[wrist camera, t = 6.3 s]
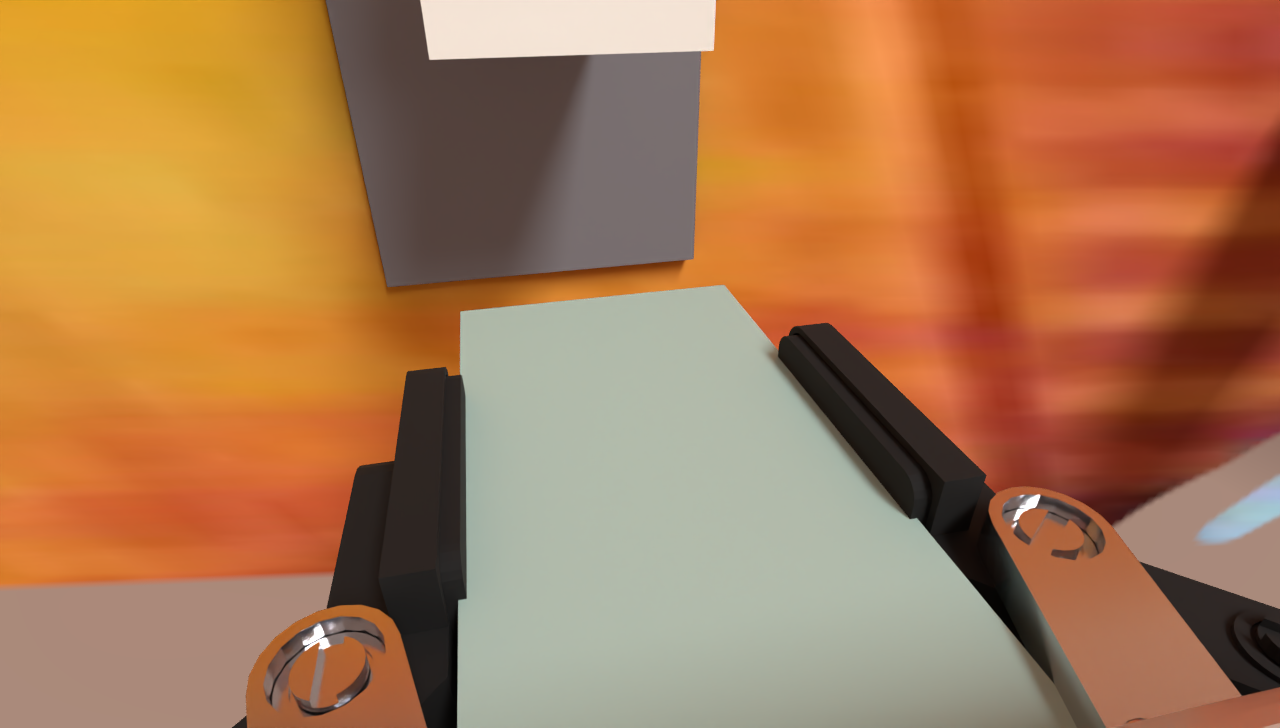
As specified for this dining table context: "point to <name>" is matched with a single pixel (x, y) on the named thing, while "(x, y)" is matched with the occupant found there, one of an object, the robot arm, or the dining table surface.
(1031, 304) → the dining table surface
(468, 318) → the domino
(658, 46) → the domino
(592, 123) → the rubber mat
